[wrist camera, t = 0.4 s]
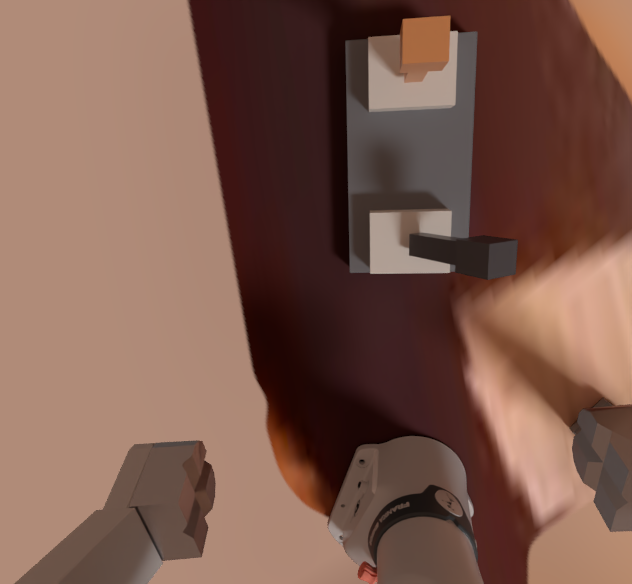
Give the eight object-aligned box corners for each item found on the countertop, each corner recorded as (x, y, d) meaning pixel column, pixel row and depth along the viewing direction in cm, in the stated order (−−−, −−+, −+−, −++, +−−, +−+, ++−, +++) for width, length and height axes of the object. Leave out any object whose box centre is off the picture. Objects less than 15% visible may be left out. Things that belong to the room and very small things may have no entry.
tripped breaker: (430, 85, 49) (449, 61, 38) (395, 87, 50) (402, 64, 38) (431, 51, 48) (450, 15, 37) (395, 53, 49) (402, 19, 37)
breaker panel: (462, 266, 60) (472, 276, 55) (350, 267, 62) (348, 278, 56) (471, 38, 54) (483, 23, 48) (346, 47, 55) (343, 33, 50)
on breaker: (427, 256, 55) (515, 274, 45) (402, 260, 53) (487, 279, 43) (428, 228, 54) (517, 239, 44) (402, 231, 52) (489, 244, 42)
